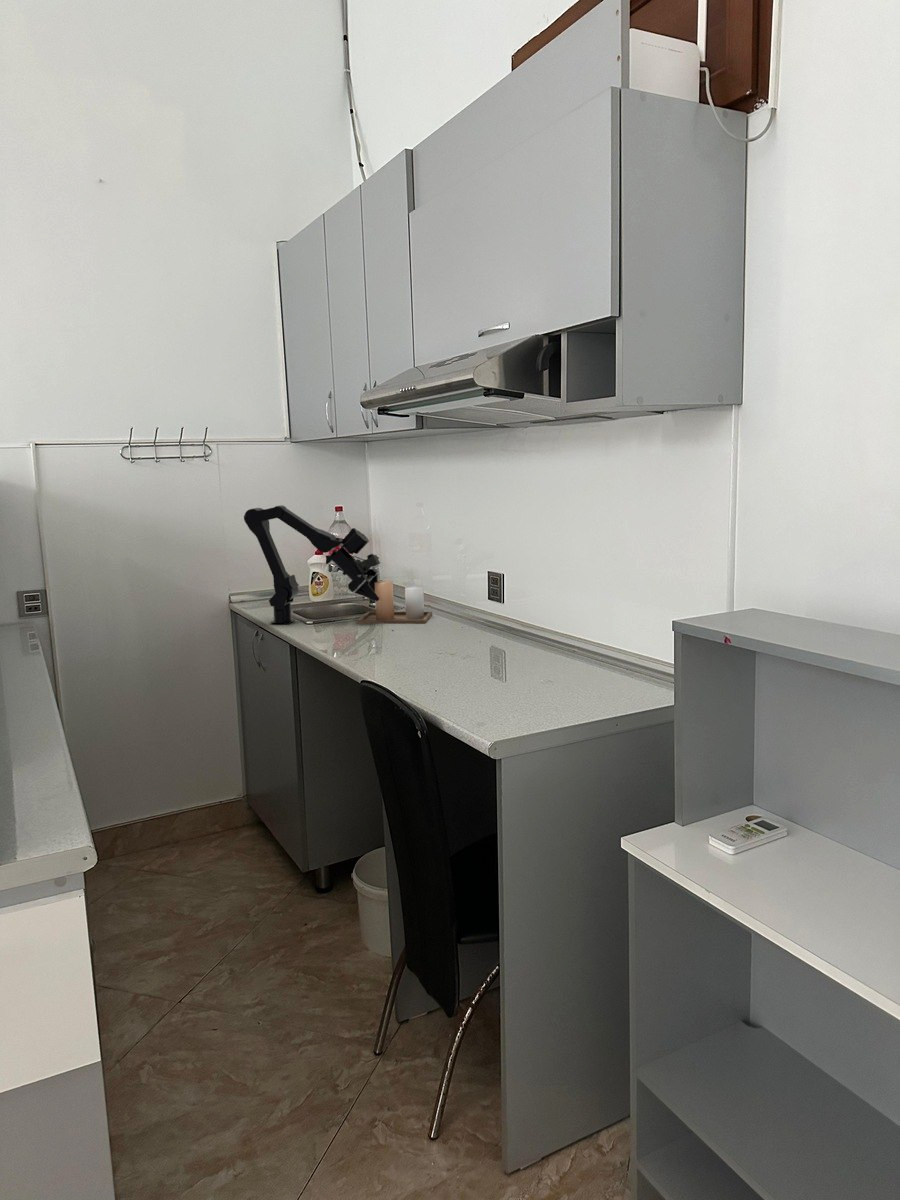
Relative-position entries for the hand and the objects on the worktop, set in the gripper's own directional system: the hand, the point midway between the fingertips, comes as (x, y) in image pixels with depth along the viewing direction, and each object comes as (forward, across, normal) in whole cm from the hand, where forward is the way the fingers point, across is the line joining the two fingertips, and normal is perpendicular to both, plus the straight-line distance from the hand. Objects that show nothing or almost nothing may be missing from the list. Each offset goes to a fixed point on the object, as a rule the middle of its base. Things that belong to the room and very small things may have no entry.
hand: (381, 597), depth 284 cm
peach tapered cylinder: (+6, 0, +4) cm, 7 cm away
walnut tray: (+9, +2, +3) cm, 9 cm away
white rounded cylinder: (+12, +5, -2) cm, 13 cm away
